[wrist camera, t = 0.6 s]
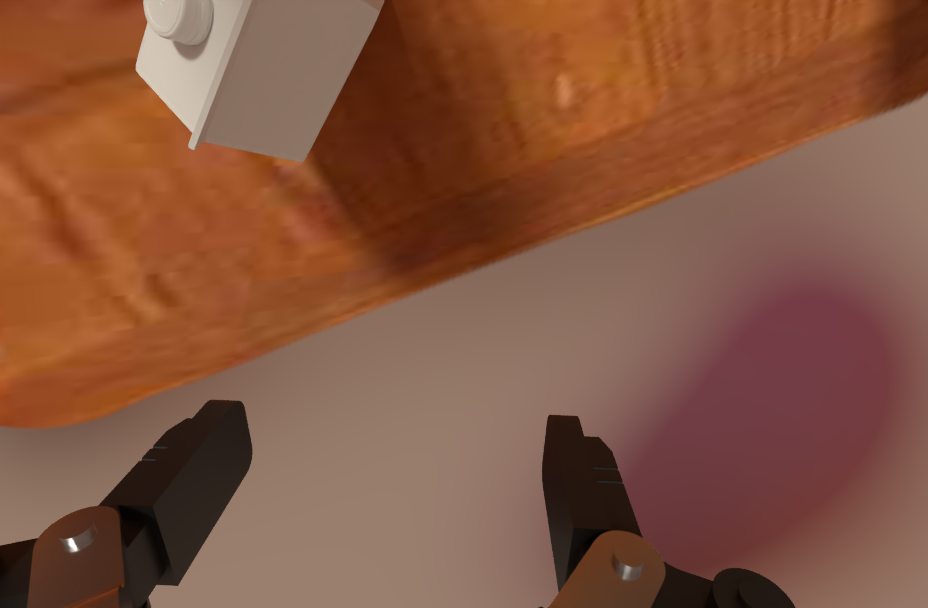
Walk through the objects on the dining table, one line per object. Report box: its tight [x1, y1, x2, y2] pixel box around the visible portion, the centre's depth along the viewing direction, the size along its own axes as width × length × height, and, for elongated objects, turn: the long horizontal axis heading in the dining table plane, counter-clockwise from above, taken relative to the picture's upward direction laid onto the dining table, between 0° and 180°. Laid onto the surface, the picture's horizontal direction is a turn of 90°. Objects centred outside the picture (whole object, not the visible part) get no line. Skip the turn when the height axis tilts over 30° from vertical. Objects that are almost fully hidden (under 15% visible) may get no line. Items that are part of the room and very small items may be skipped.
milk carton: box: [136, 0, 385, 163], centre depth 24 cm, size 7×7×19 cm
